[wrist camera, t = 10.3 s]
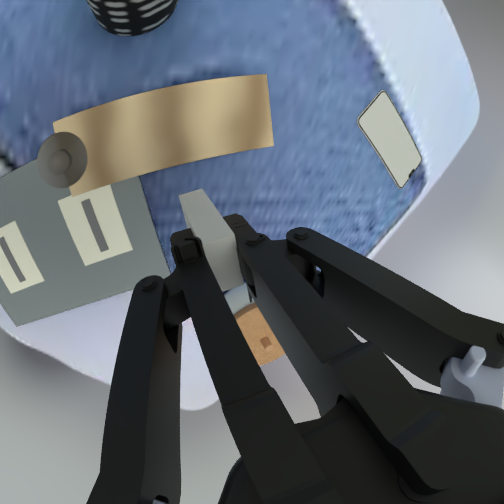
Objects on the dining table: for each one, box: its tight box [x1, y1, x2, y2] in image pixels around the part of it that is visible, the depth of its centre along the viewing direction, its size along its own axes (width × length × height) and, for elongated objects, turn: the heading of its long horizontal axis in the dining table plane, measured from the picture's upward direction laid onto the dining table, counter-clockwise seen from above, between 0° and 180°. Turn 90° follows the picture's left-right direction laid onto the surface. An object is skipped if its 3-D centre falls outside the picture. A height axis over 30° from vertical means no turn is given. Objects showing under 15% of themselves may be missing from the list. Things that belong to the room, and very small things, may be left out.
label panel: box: [0, 159, 171, 327], centre depth 25 cm, size 18×24×2 cm
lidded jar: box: [224, 282, 285, 365], centre depth 36 cm, size 11×11×9 cm
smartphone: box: [357, 90, 422, 189], centre depth 35 cm, size 7×1×15 cm
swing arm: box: [37, 74, 274, 197], centre depth 21 cm, size 22×7×3 cm, turn 97°
